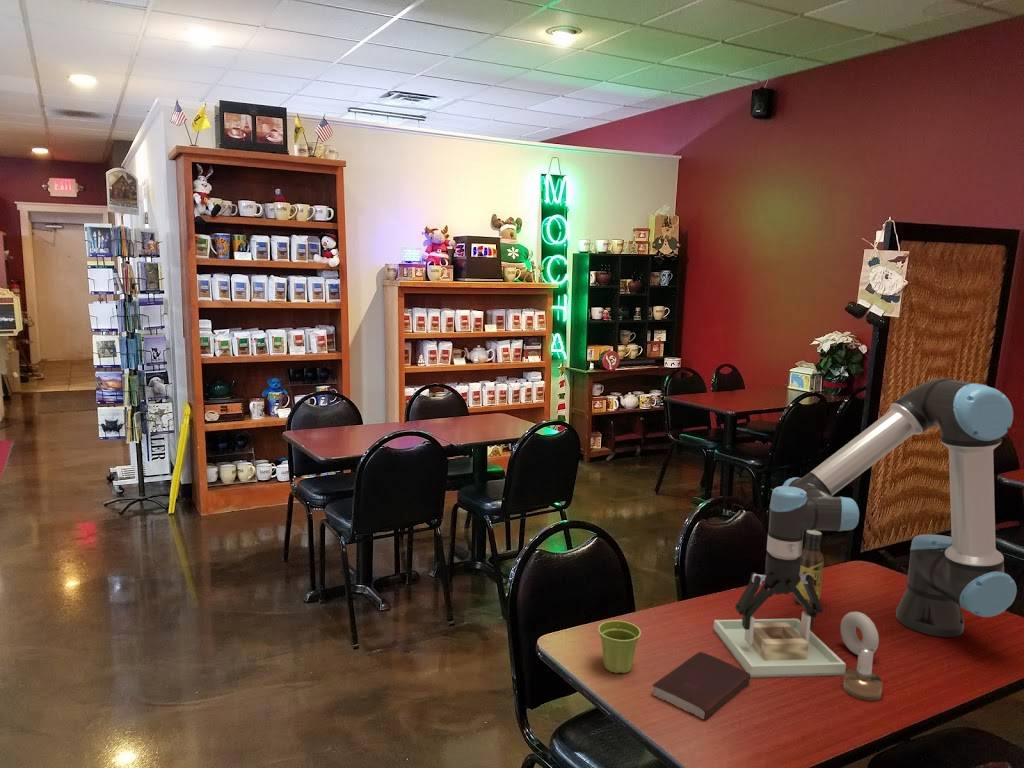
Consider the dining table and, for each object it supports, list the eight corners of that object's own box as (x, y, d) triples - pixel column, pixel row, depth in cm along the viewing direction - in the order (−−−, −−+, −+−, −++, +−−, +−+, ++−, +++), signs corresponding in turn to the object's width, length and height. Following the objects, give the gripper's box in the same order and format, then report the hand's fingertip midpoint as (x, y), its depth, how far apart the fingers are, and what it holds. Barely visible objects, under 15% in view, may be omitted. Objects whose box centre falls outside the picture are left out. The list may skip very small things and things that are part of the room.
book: (750, 686, 152) (751, 671, 152) (705, 724, 139) (706, 708, 138) (698, 663, 161) (698, 650, 161) (650, 697, 147) (651, 682, 147)
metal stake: (868, 681, 155) (872, 640, 154) (888, 700, 148) (893, 657, 146) (836, 682, 154) (840, 640, 153) (855, 701, 147) (860, 658, 146)
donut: (880, 663, 162) (884, 622, 161) (868, 665, 161) (872, 624, 160) (846, 642, 172) (850, 603, 170) (835, 644, 171) (838, 605, 169)
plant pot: (587, 667, 157) (589, 630, 156) (610, 651, 164) (612, 616, 163) (624, 683, 151) (626, 645, 150) (646, 666, 158) (648, 629, 157)
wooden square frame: (786, 637, 172) (787, 622, 171) (806, 659, 162) (808, 643, 161) (746, 638, 171) (747, 623, 170) (764, 660, 161) (766, 644, 160)
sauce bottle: (813, 610, 189) (820, 538, 186) (790, 602, 193) (796, 531, 190) (823, 602, 193) (830, 532, 191) (800, 595, 198) (806, 526, 195)
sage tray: (796, 628, 178) (797, 618, 178) (844, 675, 157) (845, 664, 157) (713, 629, 176) (714, 620, 176) (750, 677, 155) (751, 666, 155)
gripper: (738, 561, 158) (731, 650, 161) (844, 559, 161) (835, 648, 164) (724, 548, 166) (718, 634, 169) (826, 547, 168) (818, 632, 171)
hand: (776, 641), depth 166 cm, fingers open, 13 cm apart
